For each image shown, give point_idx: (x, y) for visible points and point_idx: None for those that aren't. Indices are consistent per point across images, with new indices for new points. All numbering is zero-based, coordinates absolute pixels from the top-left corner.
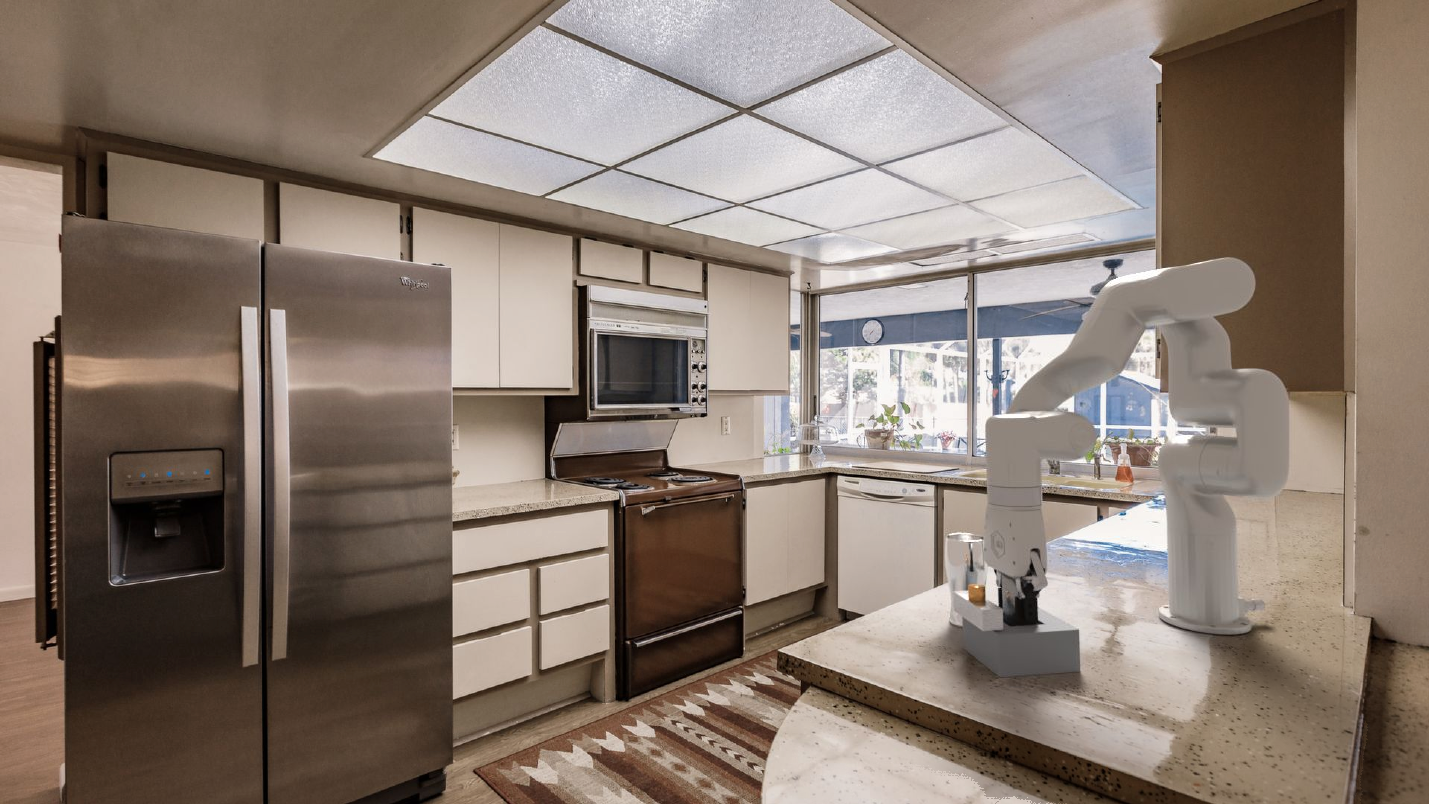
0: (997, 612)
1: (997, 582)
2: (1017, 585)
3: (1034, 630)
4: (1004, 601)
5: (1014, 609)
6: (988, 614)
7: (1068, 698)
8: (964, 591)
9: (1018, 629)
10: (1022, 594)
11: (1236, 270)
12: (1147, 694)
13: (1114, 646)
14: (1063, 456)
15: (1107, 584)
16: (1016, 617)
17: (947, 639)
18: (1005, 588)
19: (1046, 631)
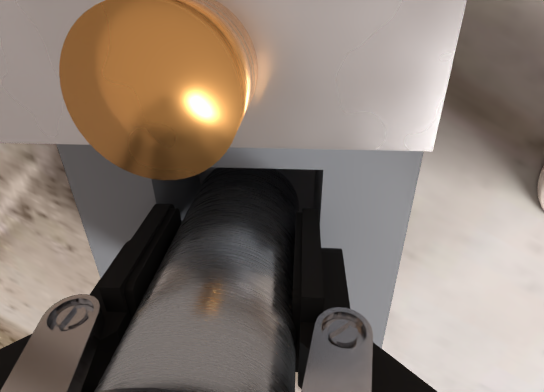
0: None
1: (354, 331)
2: (59, 364)
3: (104, 228)
4: (215, 241)
5: (171, 243)
6: None
7: (6, 146)
8: (429, 75)
9: (113, 179)
10: (43, 323)
11: None
12: (59, 298)
13: (295, 378)
14: None
15: None
16: (150, 217)
17: (502, 4)
18: (180, 304)
19: (97, 258)
